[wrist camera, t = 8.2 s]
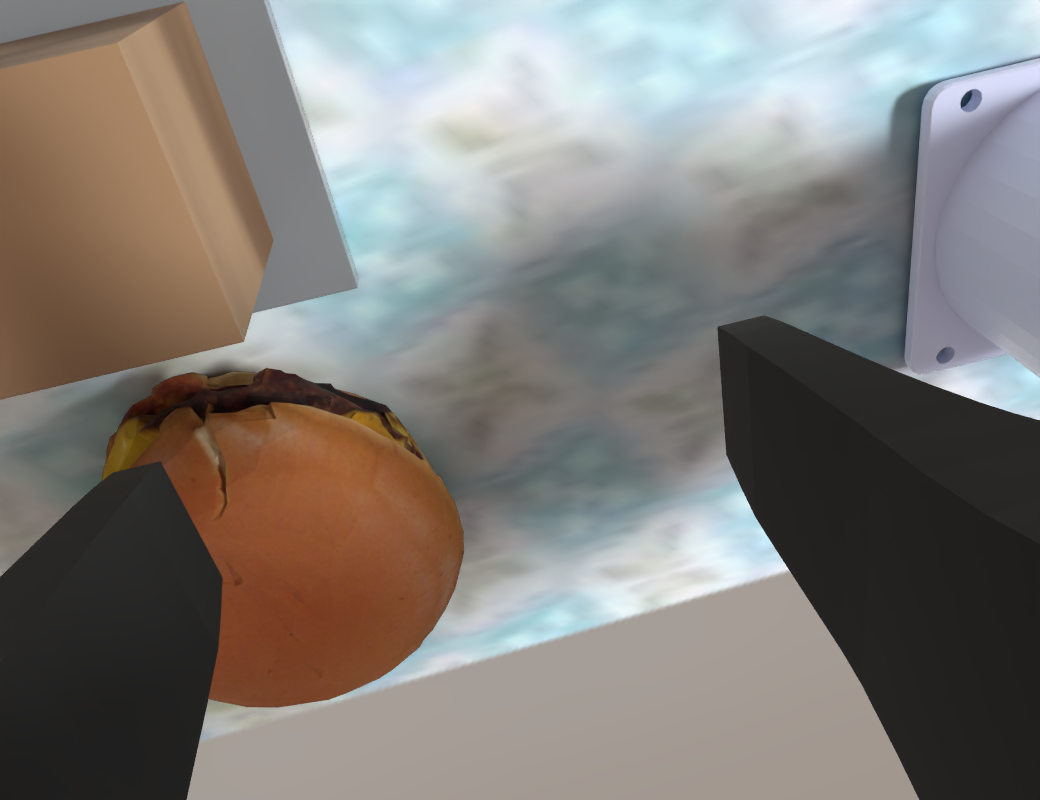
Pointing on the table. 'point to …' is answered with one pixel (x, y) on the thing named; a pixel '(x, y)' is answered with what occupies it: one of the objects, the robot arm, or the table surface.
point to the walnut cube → (119, 203)
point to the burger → (302, 527)
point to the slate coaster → (244, 131)
